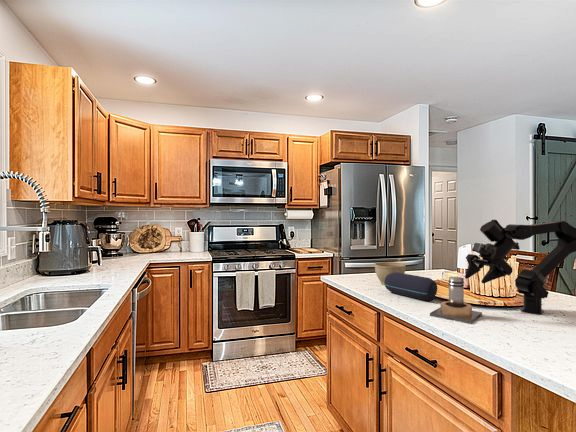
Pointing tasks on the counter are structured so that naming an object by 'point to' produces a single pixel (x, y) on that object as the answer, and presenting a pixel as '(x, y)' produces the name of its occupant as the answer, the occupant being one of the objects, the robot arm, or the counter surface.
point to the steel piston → (456, 291)
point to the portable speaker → (411, 286)
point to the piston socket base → (456, 313)
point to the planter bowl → (388, 269)
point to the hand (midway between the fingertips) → (473, 280)
